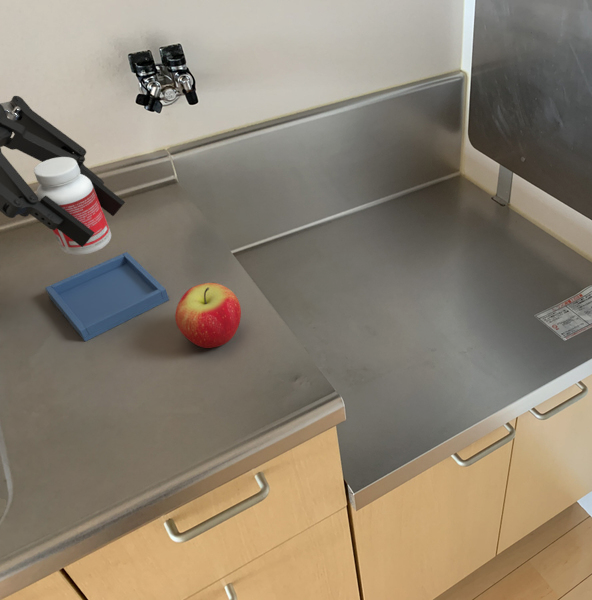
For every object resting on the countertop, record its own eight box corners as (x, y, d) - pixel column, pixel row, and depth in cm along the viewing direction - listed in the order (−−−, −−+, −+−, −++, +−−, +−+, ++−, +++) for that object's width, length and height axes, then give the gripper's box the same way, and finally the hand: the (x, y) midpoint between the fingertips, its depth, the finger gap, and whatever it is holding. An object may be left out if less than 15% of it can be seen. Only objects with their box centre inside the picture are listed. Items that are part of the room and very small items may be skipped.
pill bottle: (122, 234, 80) (94, 158, 73) (90, 261, 76) (57, 183, 68) (84, 225, 82) (53, 149, 74) (50, 251, 77) (13, 174, 70)
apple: (209, 369, 80) (192, 313, 73) (171, 339, 84) (152, 284, 78) (258, 335, 85) (246, 280, 78) (220, 309, 89) (206, 254, 82)
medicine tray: (85, 341, 84) (79, 330, 82) (50, 298, 91) (44, 287, 89) (169, 299, 90) (165, 289, 89) (130, 262, 97) (126, 251, 96)
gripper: (-26, 73, 77) (131, 199, 85) (-158, 144, 63) (45, 286, 71) (-7, 33, 72) (156, 169, 81) (-145, 98, 58) (70, 255, 67)
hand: (104, 223), depth 76 cm, fingers closed on pill bottle, 6 cm apart
